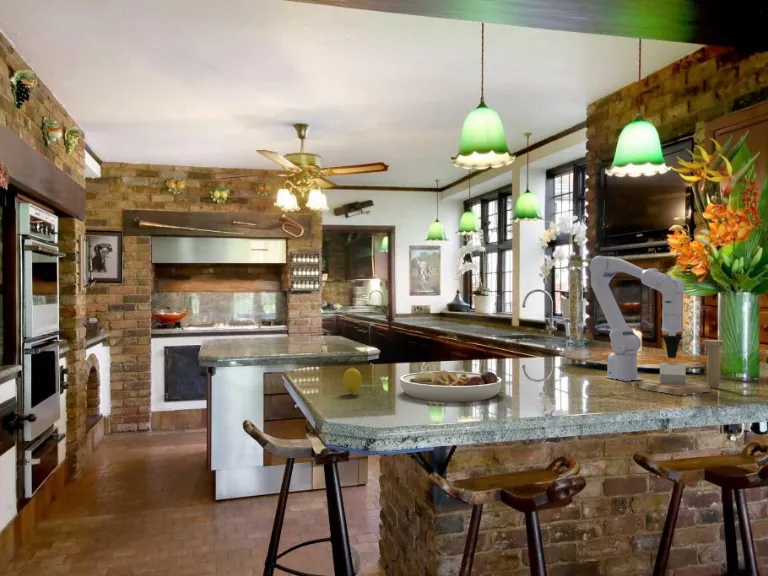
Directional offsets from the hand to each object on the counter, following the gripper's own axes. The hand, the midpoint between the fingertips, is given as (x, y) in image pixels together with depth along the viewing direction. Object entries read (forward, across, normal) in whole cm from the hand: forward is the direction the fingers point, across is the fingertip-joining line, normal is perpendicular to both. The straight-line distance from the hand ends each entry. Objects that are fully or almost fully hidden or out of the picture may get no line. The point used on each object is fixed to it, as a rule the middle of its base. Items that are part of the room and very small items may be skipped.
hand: (671, 356), depth 199 cm
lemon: (+10, -60, +86) cm, 105 cm away
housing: (+7, -11, 0) cm, 13 cm away
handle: (+10, 0, -12) cm, 15 cm away
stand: (+9, -11, 0) cm, 15 cm away
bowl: (+10, -47, +60) cm, 77 cm away
